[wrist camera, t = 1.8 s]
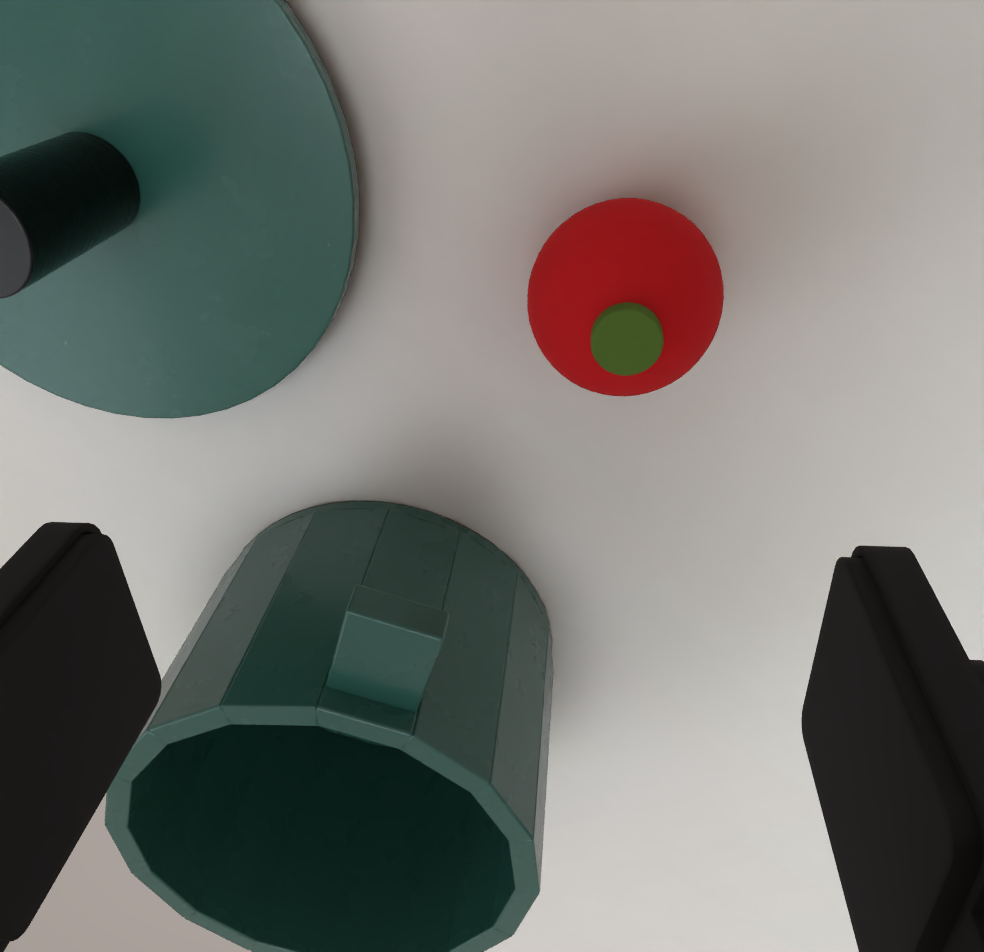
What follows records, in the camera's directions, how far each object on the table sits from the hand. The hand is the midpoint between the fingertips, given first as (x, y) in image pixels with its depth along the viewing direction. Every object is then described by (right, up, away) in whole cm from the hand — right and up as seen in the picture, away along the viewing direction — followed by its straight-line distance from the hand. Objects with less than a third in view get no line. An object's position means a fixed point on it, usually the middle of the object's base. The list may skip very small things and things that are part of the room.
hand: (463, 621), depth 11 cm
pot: (-4, -4, +20) cm, 21 cm away
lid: (-10, +10, +11) cm, 18 cm away
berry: (+4, +6, +10) cm, 12 cm away
